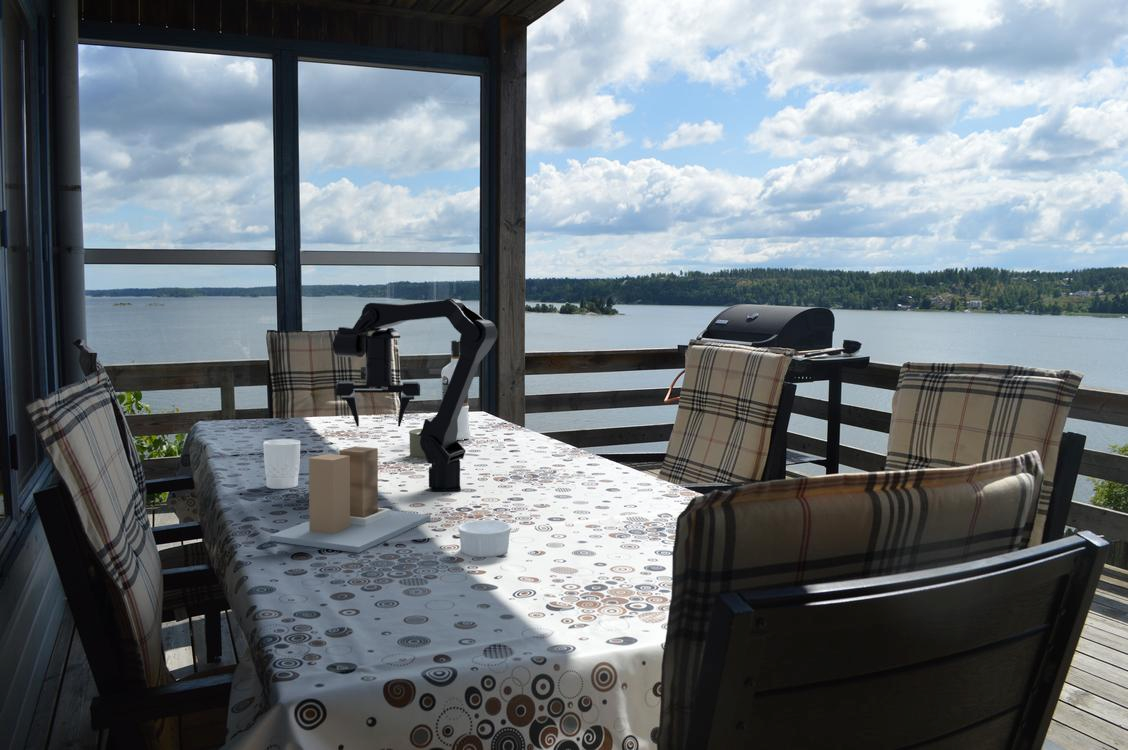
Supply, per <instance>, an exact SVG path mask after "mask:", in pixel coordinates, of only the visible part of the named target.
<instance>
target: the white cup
mask: <svg viewBox="0 0 1128 750" xmlns="http://www.w3.org/2000/svg"><path fill="white" fill-rule="evenodd" d="M262 445H263V463H264V474H265V479H266V480H265V483H266V485H265V486H266V487H267V488H268V489H272V490H273V489H274V490H284V489H285V490H287V489H292V488H293V489H294V488H295V487H297V486H299V474H300V465H301V464H300V463H301V461H300V460H301V457H300V456H301V440H299V439H291V438H281V439H280V438H279V439H269V440H265V441H263V444H262Z"/></svg>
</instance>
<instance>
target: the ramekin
mask: <svg viewBox="0 0 1128 750" xmlns="http://www.w3.org/2000/svg"><path fill="white" fill-rule="evenodd" d="M457 528H458V532H459V543H460V544H459V546H460V551H461V552H462V554H464V555H466V556H470V557H473V558H474V557H475V558H476V557H477V558H493V557H498V556H502V555H505V554H506V553H507V552H508V550H509V546H510V545H509V544H510V533H511V530H512V526H511V524H510V523H508V522H505V521H502V520H497V519H496V520H494V519H479V520H478V519H477V520H476V519H475V520H471V521H466V522H462V523H461V524H459V525H458V527H457Z"/></svg>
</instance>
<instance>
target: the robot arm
mask: <svg viewBox="0 0 1128 750" xmlns="http://www.w3.org/2000/svg"><path fill="white" fill-rule="evenodd" d="M439 318H446V319H447V320H448V321H449V323H450V324H451V325H452V327H453V328H454V329H455V330H456V331H457V332H458V333H459V334H460V337H459V341H460V342H459V349H460V356H459V359H458V362H457V364H456V367H455V369H454V372H453V375H452V377H451V380H450V382H449V385H448V388H447V390H446V393H445V395H444V398H443V401H442V400H441V403H440V405H439V408H438V411H437V414H436V415H434V416H432V417H429V418H428V417H427V418H425V419H424V422H423V426H422V428H421V429H422V431H421V432H420V434H419V436H421V437H420V446H421V448H422V450H423V451H424V453H425V456H426V459H427V460H426V462H427V464H430V465H431V466H429V467H428V487H429V488H430V491H431V492H448V491H449V492H453V491H455V492H456V491H457V492H459V491H461V490H462V488H461V460H463V459H464V457H465V454H466V449H465V447H464V446H462V444H461V443H460V442H459V441H457V440H456V438H457V433H458V422H457V420H458V416H459V414H460V411H461V409H462V406H463V403H464V401H465V398H466V396H467V393H468V394H469V390H470V389H471V386H472V382H473V380H474V378H475V375H476V373H477V370H478V367H479V365H480V363H481V361H482V360H483V359H484V358H485V356H487V354H488V353H489V351H490V350H491V349H492V346H494V344H495V342H496V340H497V339H498V334H499V333H498V332H499V331H498V329H497V327H496V324H495V323H494V322H492V321H491V320H489V319H484V318H483V316H481V315H480V314H478V313H477V312H476V311H474V310H473V309H471V308H470V307H468V306H467V305H466V304H465V303H464V302H463V301H462V300H461V299H457V298H446V299H444V300H433V301H425V302H417V303H407V304H406V303H405V304H401V303H400V304H399V303H390V302H369V303H367V304H365V305H364V307H363V309H362V311H361V315H360V316H359V318H358V320H357V321H356V322H355V324H354V326H353V327H348V326H342V327H341V326H339V327H338V329H337V333H336V334H335V335H334V338H333V341H332V349H333V352H334V354H335V355H336V356H337V357H343V358H362V357H364V356H365V366H361V367H360V382H362V383H364V382H365V384H356V382H355V381H338V382H337V384H336V385H335V389H334V390H335V393H334V396H335V397H336V396H338V397H341V400H345V401H346V404H347V405H348V407H349V409H350V411H351V413H352V417H353V420H354V422H355V425H356V427H357V428H358V427H360V417H359V410H358V409H359V408H358V401H357V394H358V393H361V394H362V393H366V394H367V393H369V394H370V393H377V394H378V393H382V394H383V393H385V394H386V393H387V394H389V393H390V394H391V393H396V394H397V393H400V394H401V398H400V405H399V411H398V417H397V418H398V419H397V426H398V427H400V426H401V425H402V421H403V418H404V415H405V412H406V409H407V407H408V405H409V403H410V401H412V400H413V401H414V400H415V397H420V396H421V383H420V382H419V381H402V384H393V381H392V380H393V373H392V340H394V339H400V338H401V335H400V334H399V333H398V332H397V331H396V330H395V328H394V326H397V325H400V324H404V323H405V322H408V321H419V320H428V319H439ZM382 329H386V330H382ZM368 333H371V334H368ZM356 393H357V394H356Z"/></svg>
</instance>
